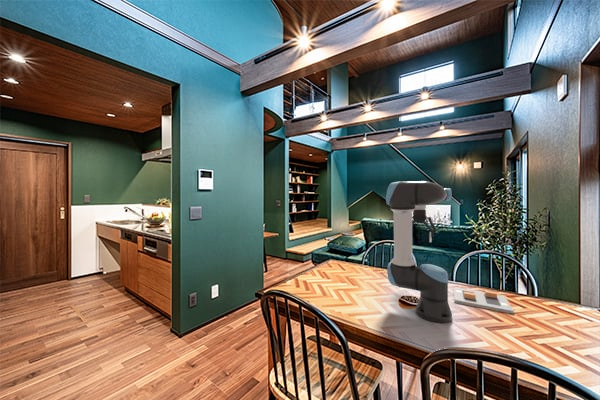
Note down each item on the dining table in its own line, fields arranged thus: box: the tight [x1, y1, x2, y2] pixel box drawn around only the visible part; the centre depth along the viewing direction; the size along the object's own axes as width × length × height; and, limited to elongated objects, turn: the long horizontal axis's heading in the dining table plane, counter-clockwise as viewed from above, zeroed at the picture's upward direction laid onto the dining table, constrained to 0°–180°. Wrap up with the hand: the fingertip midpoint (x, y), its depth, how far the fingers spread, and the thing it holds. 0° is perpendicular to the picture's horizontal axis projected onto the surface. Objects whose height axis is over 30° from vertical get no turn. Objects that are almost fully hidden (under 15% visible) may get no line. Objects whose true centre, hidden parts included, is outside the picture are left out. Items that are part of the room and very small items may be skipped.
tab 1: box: [464, 292, 476, 300], centre depth 130 cm, size 3×5×2 cm, turn 58°
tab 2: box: [484, 289, 498, 298], centre depth 131 cm, size 3×5×2 cm, turn 58°
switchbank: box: [453, 286, 515, 315], centre depth 131 cm, size 20×24×2 cm
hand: (419, 241), depth 160 cm, fingers open, 13 cm apart
